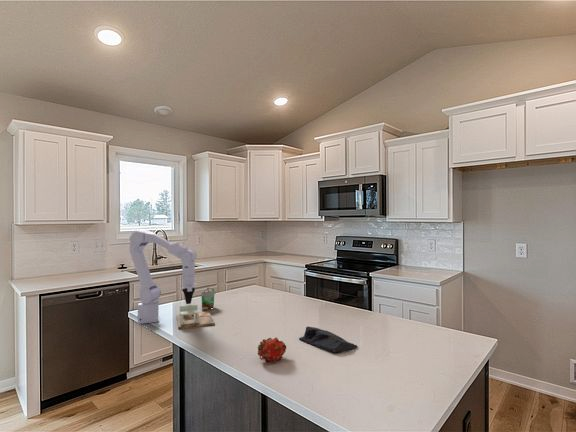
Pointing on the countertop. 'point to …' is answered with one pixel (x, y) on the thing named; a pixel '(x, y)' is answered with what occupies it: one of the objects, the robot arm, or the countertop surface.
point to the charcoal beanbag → (326, 340)
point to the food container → (208, 298)
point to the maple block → (187, 316)
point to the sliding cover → (189, 312)
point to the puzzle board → (204, 320)
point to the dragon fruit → (271, 349)
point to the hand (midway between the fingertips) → (188, 303)
